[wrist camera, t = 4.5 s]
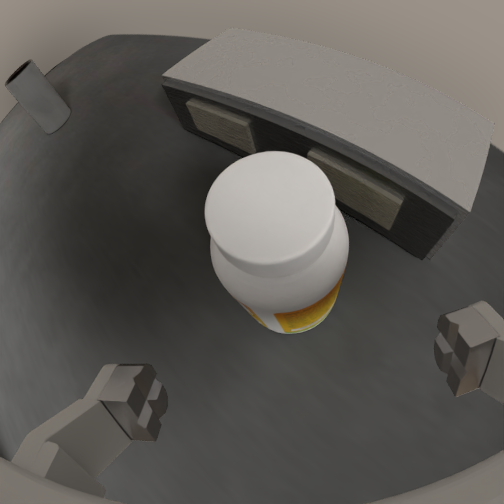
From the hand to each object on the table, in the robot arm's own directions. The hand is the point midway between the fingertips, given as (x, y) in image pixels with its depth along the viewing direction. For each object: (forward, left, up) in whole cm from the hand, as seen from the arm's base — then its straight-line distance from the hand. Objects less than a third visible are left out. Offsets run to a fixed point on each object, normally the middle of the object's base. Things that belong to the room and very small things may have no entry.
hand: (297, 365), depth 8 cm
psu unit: (+3, +16, -9) cm, 18 cm away
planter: (-28, +30, -9) cm, 42 cm away
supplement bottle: (0, +5, -9) cm, 10 cm away
